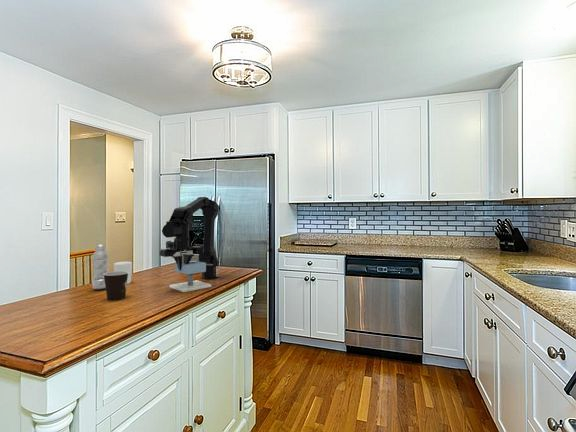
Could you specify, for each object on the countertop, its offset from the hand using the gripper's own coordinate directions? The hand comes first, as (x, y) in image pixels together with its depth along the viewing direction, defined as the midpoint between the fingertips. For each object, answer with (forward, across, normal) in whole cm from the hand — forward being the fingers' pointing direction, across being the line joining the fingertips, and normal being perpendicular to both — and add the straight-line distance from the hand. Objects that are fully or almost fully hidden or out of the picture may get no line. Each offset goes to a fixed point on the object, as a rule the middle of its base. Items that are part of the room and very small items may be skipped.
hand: (182, 270), depth 142 cm
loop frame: (+1, -4, 0) cm, 4 cm away
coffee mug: (+8, +25, -5) cm, 27 cm away
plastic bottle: (+8, +26, -25) cm, 37 cm away
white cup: (+8, +15, -30) cm, 35 cm away
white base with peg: (+8, -4, 0) cm, 9 cm away
